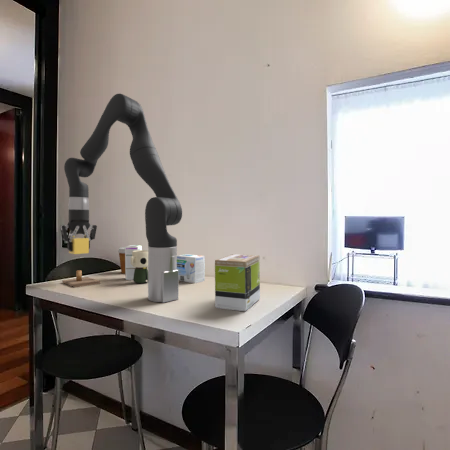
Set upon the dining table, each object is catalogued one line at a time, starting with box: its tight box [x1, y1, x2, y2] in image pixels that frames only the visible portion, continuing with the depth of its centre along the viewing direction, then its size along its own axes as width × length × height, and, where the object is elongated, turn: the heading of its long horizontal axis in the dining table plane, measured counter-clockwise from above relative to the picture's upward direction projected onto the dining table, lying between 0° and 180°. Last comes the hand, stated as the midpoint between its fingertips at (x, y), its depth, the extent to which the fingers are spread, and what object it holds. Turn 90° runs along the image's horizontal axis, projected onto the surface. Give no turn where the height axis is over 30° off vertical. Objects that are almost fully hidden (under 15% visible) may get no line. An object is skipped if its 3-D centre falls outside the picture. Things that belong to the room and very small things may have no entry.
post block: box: [62, 269, 101, 288], centre depth 125 cm, size 12×10×5 cm
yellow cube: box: [68, 237, 90, 255], centre depth 125 cm, size 6×6×6 cm
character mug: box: [131, 249, 148, 284], centre depth 127 cm, size 11×7×13 cm, turn 149°
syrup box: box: [124, 244, 143, 281], centre depth 134 cm, size 6×6×14 cm
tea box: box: [214, 253, 261, 312], centre depth 97 cm, size 15×10×15 cm
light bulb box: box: [177, 253, 206, 284], centre depth 132 cm, size 11×7×11 cm, turn 56°
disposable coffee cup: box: [117, 246, 126, 275], centre depth 149 cm, size 10×10×12 cm
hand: (78, 250), depth 125 cm, fingers closed on yellow cube, 5 cm apart
